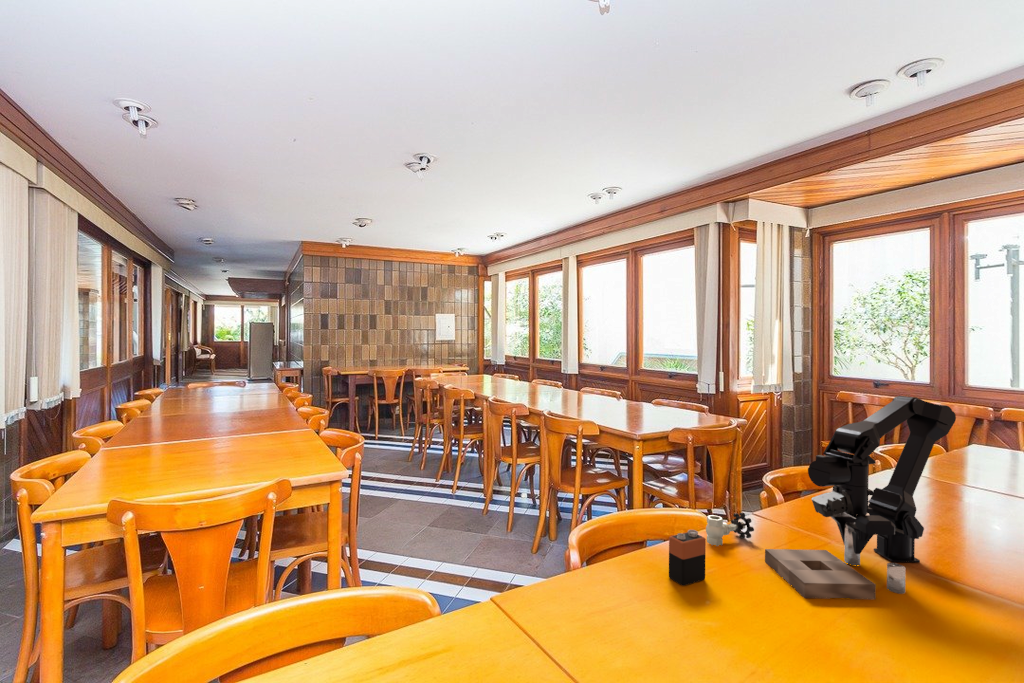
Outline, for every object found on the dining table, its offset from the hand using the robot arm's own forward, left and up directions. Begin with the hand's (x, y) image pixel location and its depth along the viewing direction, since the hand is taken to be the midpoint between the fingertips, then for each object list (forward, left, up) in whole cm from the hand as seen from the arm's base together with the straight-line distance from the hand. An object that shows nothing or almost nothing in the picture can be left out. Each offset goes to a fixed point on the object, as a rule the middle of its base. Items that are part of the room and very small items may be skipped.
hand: (852, 550), depth 114 cm
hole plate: (+13, +8, -3) cm, 16 cm away
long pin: (0, 0, -3) cm, 3 cm away
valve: (+24, -12, -3) cm, 27 cm away
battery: (+41, +9, -3) cm, 42 cm away
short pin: (-1, +12, -3) cm, 12 cm away
